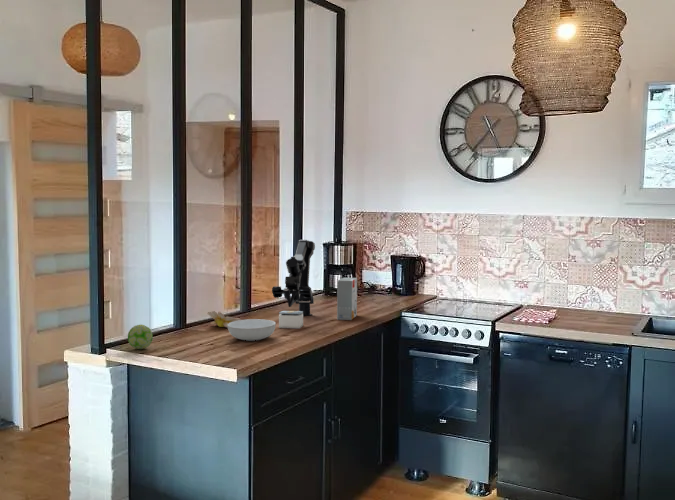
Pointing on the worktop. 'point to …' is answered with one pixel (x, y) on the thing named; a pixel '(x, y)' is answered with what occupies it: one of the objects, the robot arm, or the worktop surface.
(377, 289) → the worktop surface
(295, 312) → the lid
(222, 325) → the decorative flower
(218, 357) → the worktop surface
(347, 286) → the hard drive box
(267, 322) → the serving bowl
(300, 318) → the keepsake box
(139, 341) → the decorative ball
